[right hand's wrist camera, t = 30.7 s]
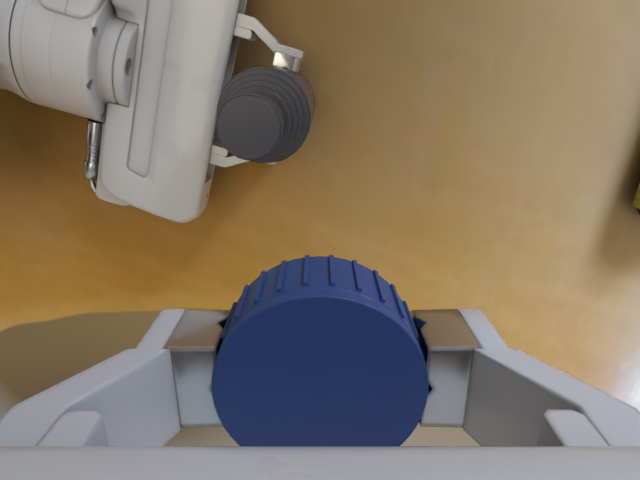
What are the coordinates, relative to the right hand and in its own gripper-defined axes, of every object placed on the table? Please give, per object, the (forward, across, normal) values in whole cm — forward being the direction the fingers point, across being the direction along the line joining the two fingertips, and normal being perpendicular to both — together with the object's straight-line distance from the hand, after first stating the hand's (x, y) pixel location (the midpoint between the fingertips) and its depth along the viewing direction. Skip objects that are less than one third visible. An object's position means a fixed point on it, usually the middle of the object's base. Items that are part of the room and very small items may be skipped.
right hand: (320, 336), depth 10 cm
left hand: (+25, +2, -3) cm, 25 cm away
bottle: (+30, +3, -4) cm, 30 cm away
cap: (-2, 0, 0) cm, 2 cm away
